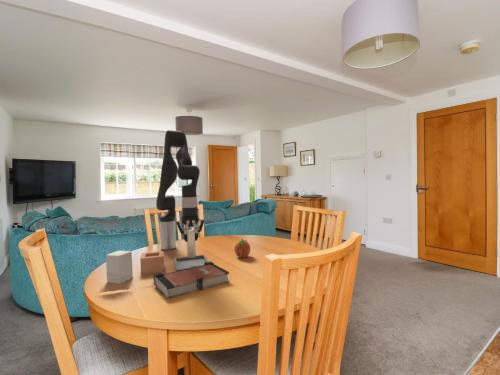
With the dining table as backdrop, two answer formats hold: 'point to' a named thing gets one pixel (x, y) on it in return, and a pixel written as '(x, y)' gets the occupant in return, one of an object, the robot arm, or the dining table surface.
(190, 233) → the peg
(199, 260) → the tray
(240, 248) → the fruit
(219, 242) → the dining table surface
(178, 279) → the book
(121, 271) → the supplement box
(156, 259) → the square hole frame
